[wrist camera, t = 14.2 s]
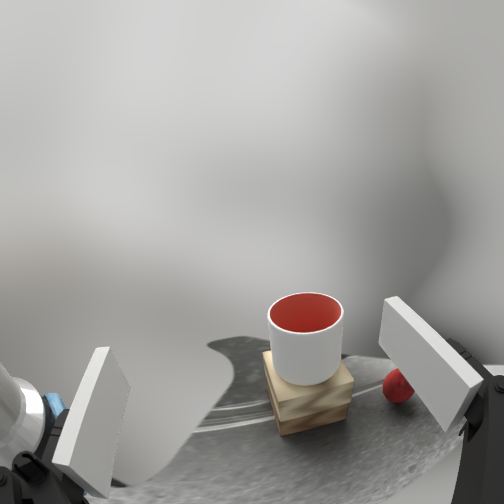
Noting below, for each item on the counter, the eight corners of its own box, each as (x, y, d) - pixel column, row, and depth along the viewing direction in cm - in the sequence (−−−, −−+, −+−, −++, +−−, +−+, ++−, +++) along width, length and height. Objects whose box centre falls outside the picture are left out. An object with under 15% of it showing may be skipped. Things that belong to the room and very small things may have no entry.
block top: (280, 422, 36) (278, 401, 35) (265, 373, 47) (262, 352, 45) (350, 401, 38) (354, 380, 36) (325, 358, 48) (326, 337, 46)
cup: (350, 355, 41) (354, 300, 37) (319, 399, 34) (322, 343, 30) (295, 338, 47) (292, 286, 43) (259, 374, 40) (251, 320, 36)
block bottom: (280, 437, 38) (278, 420, 37) (267, 390, 49) (265, 372, 47) (345, 419, 39) (349, 401, 38) (325, 377, 50) (326, 358, 48)
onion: (416, 397, 39) (428, 365, 36) (397, 417, 37) (408, 386, 34) (392, 382, 44) (401, 350, 41) (372, 400, 42) (380, 368, 39)
